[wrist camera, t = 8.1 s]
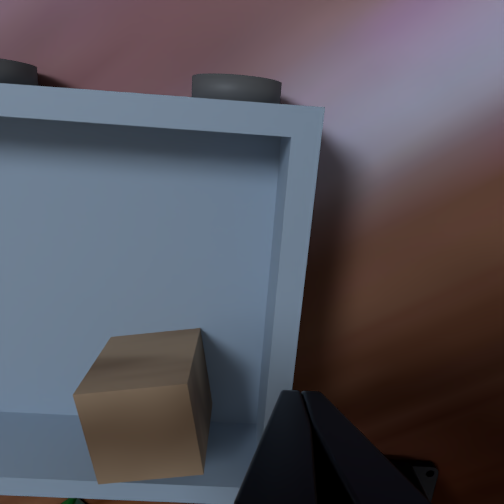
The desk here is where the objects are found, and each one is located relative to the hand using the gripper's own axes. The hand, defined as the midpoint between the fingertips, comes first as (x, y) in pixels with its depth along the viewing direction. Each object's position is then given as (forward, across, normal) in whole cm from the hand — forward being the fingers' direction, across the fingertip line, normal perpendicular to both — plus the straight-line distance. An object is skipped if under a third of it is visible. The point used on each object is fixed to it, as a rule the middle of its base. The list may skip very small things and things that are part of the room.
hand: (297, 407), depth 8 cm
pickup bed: (+12, +7, +2) cm, 14 cm away
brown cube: (+10, +5, +6) cm, 13 cm away
